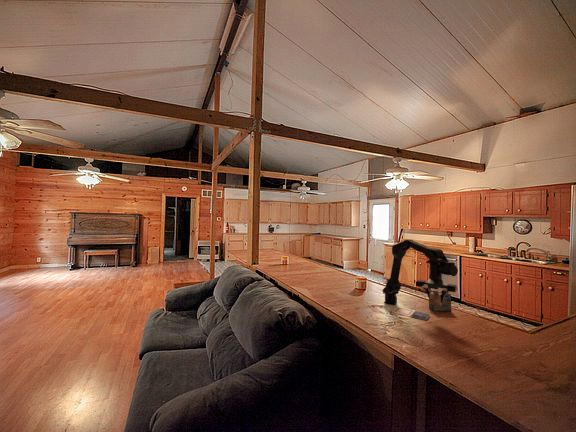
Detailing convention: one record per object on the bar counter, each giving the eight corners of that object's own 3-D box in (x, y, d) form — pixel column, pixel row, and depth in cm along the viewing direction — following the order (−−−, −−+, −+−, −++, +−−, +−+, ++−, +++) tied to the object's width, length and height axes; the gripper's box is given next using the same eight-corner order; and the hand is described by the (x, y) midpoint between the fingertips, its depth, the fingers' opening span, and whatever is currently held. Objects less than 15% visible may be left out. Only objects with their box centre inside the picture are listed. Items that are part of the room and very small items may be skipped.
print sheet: (391, 312, 151) (391, 311, 151) (398, 307, 161) (398, 306, 161) (409, 316, 145) (409, 315, 145) (415, 311, 154) (415, 310, 154)
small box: (446, 308, 159) (446, 291, 159) (451, 312, 152) (451, 294, 153) (428, 307, 160) (428, 290, 160) (433, 311, 154) (433, 293, 154)
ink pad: (410, 316, 145) (410, 314, 145) (414, 313, 151) (414, 310, 151) (426, 320, 139) (426, 317, 139) (429, 316, 145) (429, 313, 145)
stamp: (429, 304, 138) (429, 290, 138) (431, 302, 142) (431, 288, 142) (440, 306, 135) (440, 292, 135) (442, 304, 139) (442, 290, 139)
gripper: (412, 272, 139) (412, 301, 138) (453, 277, 126) (453, 309, 126) (418, 269, 147) (418, 297, 147) (457, 274, 135) (457, 304, 135)
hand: (435, 301), depth 138 cm, fingers closed on stamp, 5 cm apart
